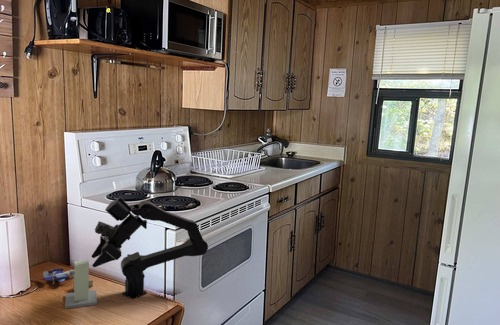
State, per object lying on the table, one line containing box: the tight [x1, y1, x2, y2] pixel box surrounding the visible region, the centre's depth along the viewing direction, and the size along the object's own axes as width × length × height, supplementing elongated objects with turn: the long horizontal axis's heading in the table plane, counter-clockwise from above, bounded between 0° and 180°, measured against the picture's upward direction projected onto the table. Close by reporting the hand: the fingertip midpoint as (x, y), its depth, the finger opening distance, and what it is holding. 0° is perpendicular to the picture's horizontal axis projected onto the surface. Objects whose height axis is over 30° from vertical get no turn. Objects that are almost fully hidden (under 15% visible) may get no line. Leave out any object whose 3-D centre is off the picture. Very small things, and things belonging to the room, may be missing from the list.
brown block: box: [72, 277, 94, 290], centre depth 147 cm, size 6×3×3 cm, turn 137°
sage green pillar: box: [73, 259, 90, 301], centre depth 136 cm, size 4×4×12 cm
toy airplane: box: [42, 268, 74, 285], centre depth 152 cm, size 13×14×4 cm
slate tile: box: [64, 289, 98, 310], centre depth 137 cm, size 10×10×1 cm
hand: (92, 261), depth 137 cm, fingers open, 9 cm apart
